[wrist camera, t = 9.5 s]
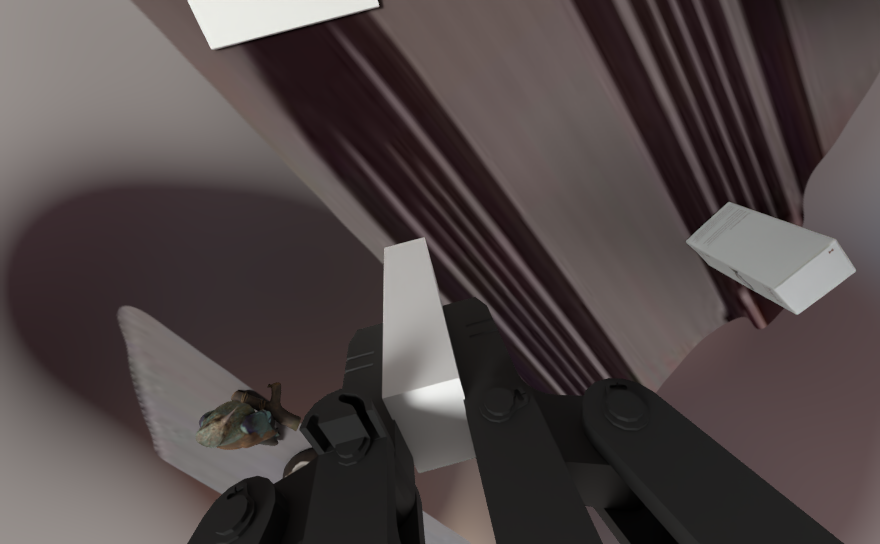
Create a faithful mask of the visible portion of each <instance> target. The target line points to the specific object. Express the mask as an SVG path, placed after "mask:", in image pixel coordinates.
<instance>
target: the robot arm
mask: <svg viewBox="0 0 880 544" xmlns="http://www.w3.org/2000/svg"><path fill="white" fill-rule="evenodd" d="M345 372H346V374H345V375H344V381H343V388H342V389H339V390H337V391H335V392H332V393H330V394H327V395H326V396H325V397H323V398H322V399H321V400H319V401H318V402H317V403H315V404H314V406H313V407H312V408H311V409H310V411H309V412H308V413H307V414H306V415H305V417H304V420H303V422H302V424H301V426H300V429H299V430H300V431H301V432H302V434H303V435H304V436H305V438H306V439H307V440H308V442H309V443H310V444H311V446H312V447H313V448H314V450H315V451H316V452H317V454H318V456H316V457H315V458H314V459H313V460H312V461H310V462H309V463H307V464H306V465H305V466H303V467H301V468H300V469H298V470H296V471H295V472H293V473H291V474H290V475H288V476H286V477H285V478H283V479H281V480H280V481H278V482H276V483H275V484H273V483H272V482H271V481H270V480H269V479H268V478H264V477H260V476H255V477H251V478H247V479H244V480H242V481H240V482H238V483H237V484H235V485H233V486H232V487H230V488H229V489H228V490H227V491H225V492H224V493H223V494H222V495H221V496H220V497H219V498H218V499H217V500H216V501H215V502H214V503H213V505H212V506H211V507H210V509H209V510H208V511H207V513H206V514H205V515H204V517H203V518H202V520H201V522H200V523H199V525H198V527H197V528H196V530H195V532H194V533H193V535H192V537H191V539H190V540H189V542H188V543H187V544H425V536H424V524H423V513H422V502H421V498H420V495H419V491H418V489H417V487H416V485H415V475H414V465H415V467H416V469H417V471H418V473H422V472H425V471H429V470H433V469H436V468H440V467H444V466H447V465H451V464H454V463H458V462H462V461H465V460H469V459H473V458H476V459H477V463H478V467H479V472H480V476H481V480H482V485H483V489H484V493H485V497H486V502H487V506H488V510H489V514H490V518H491V522H492V527H493V531H494V535H495V540H496V544H603V543H602V541H601V539H600V537H599V535H598V532H597V530H596V528H595V526H594V524H593V522H592V520H591V518H590V515H589V513H588V511H587V509H586V507H585V506H591V507H593V508H594V509H595V510H596V511H597V513H598V514H599V516H600V517H601V518H602V520H603V521H604V522H605V524H606V525H607V526H608V528H609V529H610V530H611V532H612V533H613V535H614V536H615V537H616V539H617V540H618V541H619V543H620V544H844V543H843V542H841V541H840V540H839V539H837V538H836V537H835V536H834V535H833V534H831V533H830V532H829V531H827V530H826V529H825V528H824V527H822V526H821V525H820V524H819V523H817V522H816V521H815V520H814V519H812V518H811V517H810V516H809V515H807V514H806V513H805V512H804V511H802V510H801V509H800V508H799V507H797V506H796V505H795V504H794V503H792V502H791V501H790V500H789V499H787V498H786V497H785V496H784V495H782V494H781V493H780V492H779V491H777V490H776V489H775V488H774V487H772V486H771V485H770V484H769V483H767V482H766V481H765V480H763V479H762V478H761V477H760V476H759V475H757V474H756V473H755V472H754V471H752V470H751V469H750V468H748V467H747V466H746V465H745V464H743V463H742V462H741V461H740V460H738V459H737V458H736V457H735V456H733V455H732V454H731V453H729V452H728V451H727V450H726V449H725V448H723V447H722V446H721V445H720V444H718V443H717V442H716V441H715V440H713V439H712V438H711V437H710V436H708V435H707V434H706V433H704V432H703V431H702V430H701V429H700V428H698V427H697V426H696V425H695V424H693V423H692V422H691V421H690V420H688V419H687V418H685V417H684V416H683V415H682V414H680V412H678V411H677V410H676V409H675V408H673V407H672V406H671V405H669V404H668V403H667V402H666V401H664V400H663V399H662V398H661V397H659V396H658V395H657V394H656V393H654V392H653V391H651V390H649V389H648V388H646V387H644V386H643V385H641V384H639V383H636V382H633V381H629V380H626V379H611V378H608V379H604V380H601V381H598V382H595V383H594V384H593V385H591V386H590V387H589V388H588V389H587V390H586V392H585V394H584V396H571V395H554V394H547V393H544V392H541V391H538V390H536V389H534V388H532V387H530V386H529V385H527V384H526V383H525V382H524V381H523V380H522V379H521V378H520V376H519V375H518V373H517V371H516V369H515V367H514V365H513V362H512V360H511V358H510V356H509V354H508V351H507V349H506V347H505V345H504V343H503V340H502V338H501V336H500V334H499V331H498V330H497V327H496V325H495V323H494V320H493V318H492V316H491V314H490V312H489V309H488V307H487V305H485V304H484V303H482V302H481V301H480V300H478V299H477V298H476V297H474V298H470V299H466V300H463V301H459V302H455V303H451V304H448V305H444V306H443V304H442V300H441V296H440V292H439V289H438V285H437V281H436V278H435V274H434V270H433V267H432V263H431V259H430V256H429V252H428V248H427V245H426V241H425V237H424V238H420V239H416V240H412V241H409V242H405V243H401V244H397V245H394V246H390V247H386V248H384V303H383V323H382V324H378V325H374V326H370V327H367V328H363V329H359V330H357V332H356V333H355V335H354V337H353V338H352V340H351V341H350V343H349V347H348V354H347V362H346V368H345Z"/></svg>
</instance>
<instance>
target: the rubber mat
mask: <svg viewBox="0 0 880 544" xmlns="http://www.w3.org/2000/svg"><path fill="white" fill-rule="evenodd" d="M188 2H189V5H190V7H191V9H192V11H193V13H194V15H195V17H196V19H197V21H198V23H199V25H200V27H201V29H202V31H203V33H204V35H205V37H206V39H207V41H208V43H209V45H210V47H211V49H212V50H217V49H221V48H224V47H228V46H232V45H236V44H240V43H244V42H247V41H251V40H255V39H259V38H263V37H267V36H271V35H274V34H278V33H282V32H286V31H290V30H294V29H297V28H301V27H305V26H309V25H313V24H317V23H321V22H324V21H328V20H332V19H336V18H340V17H344V16H348V15H351V14H355V13H359V12H363V11H367V10H371V9H374V8H378V7H379V3H378V0H188Z"/></svg>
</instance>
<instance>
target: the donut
mask: <svg viewBox="0 0 880 544" xmlns="http://www.w3.org/2000/svg"><path fill="white" fill-rule="evenodd" d="M316 456H318V454H317V452H316V451H315V450H314V449H309V450H306V451H303V452H300V453H299V454H297V455H296V456H294V457H293V458H292V459H291V460H290V461H289V462H288V464H287V465H286V466H285V469H284V473H283V478H285V477H286V476H288V475H290V474H291V473H293V472H295V471H296V470H298V469H300V468H301V467H303V466H305V465H306V464H307V463H309V462H310V461H312V460H313V459H314V458H315V457H316Z"/></svg>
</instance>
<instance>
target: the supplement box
mask: <svg viewBox="0 0 880 544" xmlns="http://www.w3.org/2000/svg"><path fill="white" fill-rule="evenodd" d="M686 243H687V244H688V245H689V246H690V247H692V248H693V249H694V250H695V251H696V252H697V253H698V254H699V255H700V256H701V257H702V258H703V259H704V260H705V261H706V262H707V264H708V265H710V266H711V267H713V268H715V269H717V270H718V271H720V272H722V273H724V274H725V275H727V276H729V277H731V278H732V279H734V280H736V281H738V282H739V283H741V284H743V285H745V286H746V287H748V288H750V289H752V290H753V291H755V292H757V293H759V294H761V295H762V296H764V297H766V298H768V299H770V300H771V301H773V302H775V303H777V304H778V305H780V306H782V307H784V308H786V309H787V310H789V311H791V312H793V313H795V314H796V315H798V314H799V313H801V312H802V311H804V310H805V309H806V308H808V307H809V306H810V305H812V304H813V303H814V302H815V301H817V300H819V299H820V298H821V297H823V296H824V295H825V294H827V293H828V292H829V291H831V290H832V289H833V288H835V287H836V286H837V285H839V284H840V283H841V282H842V281H844V280H845V279H846V278H848V277H849V276H850V275H852V274H853V273H854V272H856V269H855V267H854V266H853V265H852V263H851V261H850V260H849V258H848V257H847V255H846V253H845V252H844V251H843V249H842V248H841V246H840V245H839V243H838V241H837V240H836V239H834V238H831V237H828V236H826V235H823V234H820V233H817V232H814V231H811V230H808V229H805V228H803V227H800V226H797V225H794V224H791V223H788V222H786V221H783V220H780V219H777V218H774V217H771V216H768V215H766V214H763V213H760V212H757V211H754V210H751V209H748V208H746V207H743V206H740V205H737V204H734V203H731V202H728V203H727V204H726V205H724V206H723V207H722V208H721V209H720V210H719V211H718V212H717V213H716V214H715V215H713V216H712V217H711V218H710V219H709V220H708V221H707V222H706V223H705V224H703V225H702V226H701V227H700V228H699V229H698V230H697V231H696V232H695V233H694V234H693V235H691V237H689V238H688V239H687V240H686Z"/></svg>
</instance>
